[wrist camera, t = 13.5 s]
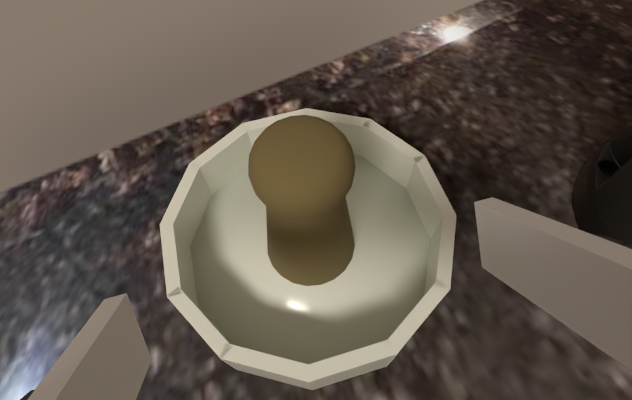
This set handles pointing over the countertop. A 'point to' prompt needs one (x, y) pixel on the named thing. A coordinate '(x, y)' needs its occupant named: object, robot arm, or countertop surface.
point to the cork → (305, 197)
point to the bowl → (319, 300)
